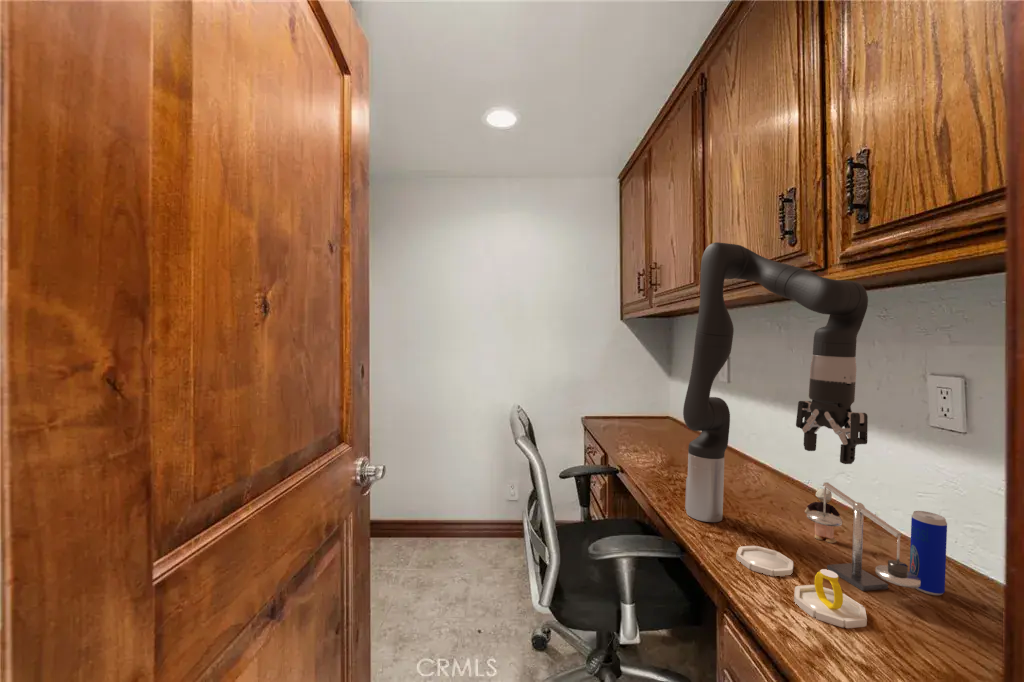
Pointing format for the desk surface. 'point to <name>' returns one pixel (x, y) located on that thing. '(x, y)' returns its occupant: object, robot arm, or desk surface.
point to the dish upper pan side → (764, 560)
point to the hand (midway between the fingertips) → (827, 456)
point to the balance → (853, 572)
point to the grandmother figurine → (821, 529)
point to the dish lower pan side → (843, 617)
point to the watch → (835, 585)
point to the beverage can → (928, 551)
